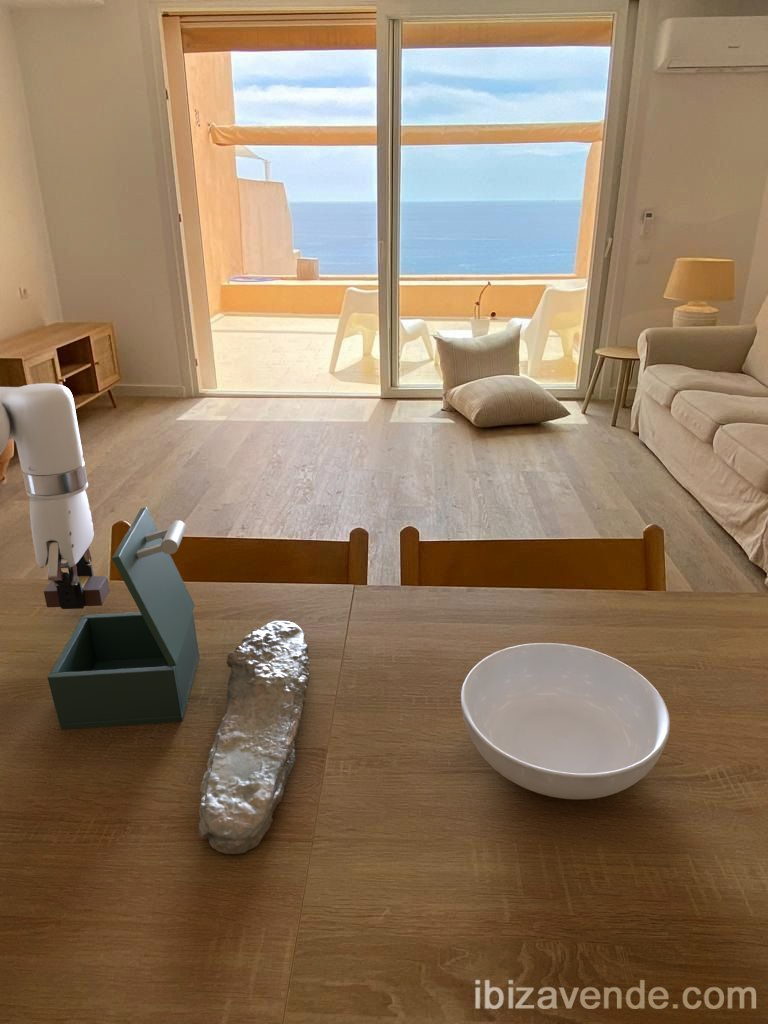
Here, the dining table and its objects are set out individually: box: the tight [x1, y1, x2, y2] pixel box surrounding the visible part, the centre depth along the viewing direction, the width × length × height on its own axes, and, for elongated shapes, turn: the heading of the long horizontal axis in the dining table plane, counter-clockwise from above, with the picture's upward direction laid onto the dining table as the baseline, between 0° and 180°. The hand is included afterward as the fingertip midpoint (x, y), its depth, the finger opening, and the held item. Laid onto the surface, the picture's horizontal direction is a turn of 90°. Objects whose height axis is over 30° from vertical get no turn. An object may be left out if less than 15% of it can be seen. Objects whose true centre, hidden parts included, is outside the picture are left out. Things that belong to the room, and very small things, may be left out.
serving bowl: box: [460, 642, 671, 800], centre depth 73 cm, size 21×21×7 cm
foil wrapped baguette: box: [197, 620, 311, 855], centre depth 78 cm, size 35×5×10 cm
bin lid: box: [111, 506, 196, 667], centre depth 79 cm, size 14×13×5 cm
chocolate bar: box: [43, 575, 111, 608], centre depth 99 cm, size 8×4×3 cm, turn 95°
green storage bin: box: [47, 611, 200, 730], centre depth 83 cm, size 14×13×7 cm
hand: (78, 597), depth 99 cm, fingers closed on chocolate bar, 4 cm apart
